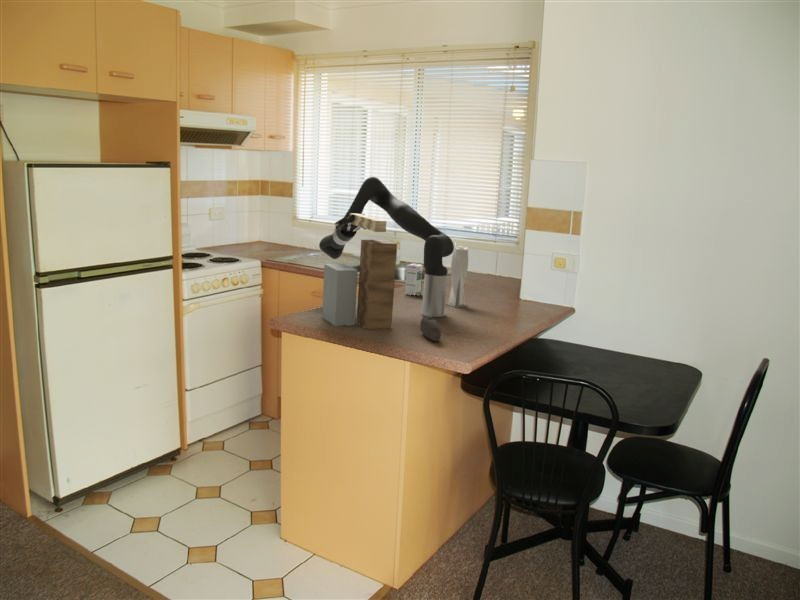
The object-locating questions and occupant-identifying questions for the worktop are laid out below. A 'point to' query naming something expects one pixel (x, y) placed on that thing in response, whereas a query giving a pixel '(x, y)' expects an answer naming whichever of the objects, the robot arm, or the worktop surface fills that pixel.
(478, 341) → the worktop surface
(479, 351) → the worktop surface
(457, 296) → the skyscraper
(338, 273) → the grey block
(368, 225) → the birch beam
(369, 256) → the tall wooden tower
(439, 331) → the perforated stone tool
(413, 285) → the syrup box
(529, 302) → the worktop surface
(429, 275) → the robot arm
